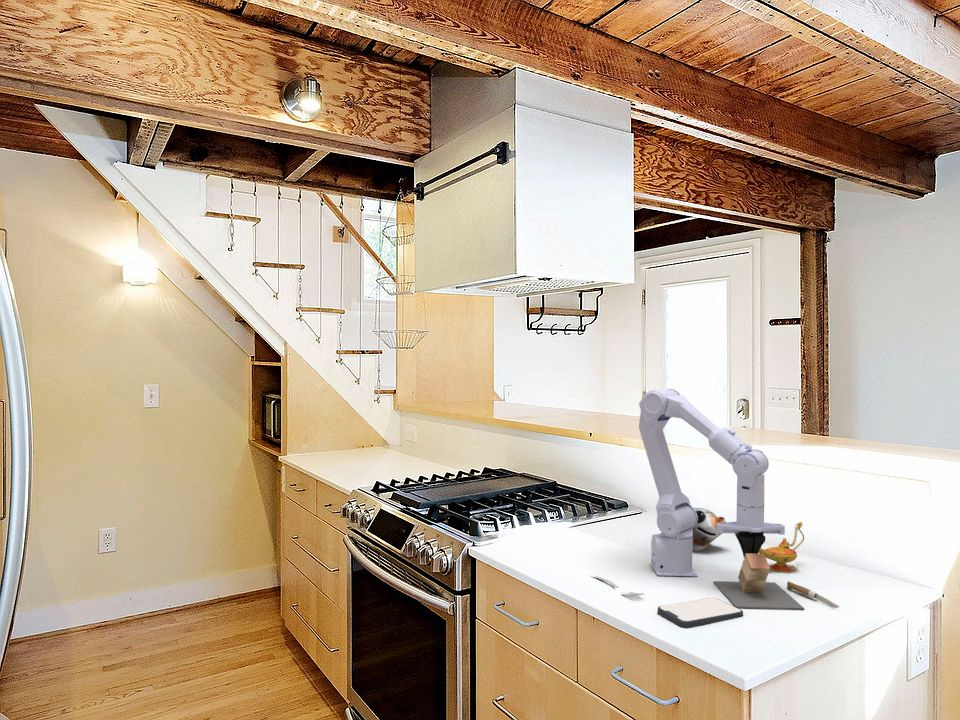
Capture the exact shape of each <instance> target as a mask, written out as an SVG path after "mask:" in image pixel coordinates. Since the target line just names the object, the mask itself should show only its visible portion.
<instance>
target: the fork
mask: <svg viewBox="0 0 960 720" xmlns="http://www.w3.org/2000/svg"><path fill="white" fill-rule="evenodd" d="M595 577H596V578H595V579H597V578H598V580H601V581H603V582H607V583H609V584H610V585H611V586H612V587H613V589H614V588H619V586H618V585H617V584H615V583H614V582H613V581H611V580H608V579H605V578H603V577H601V576H599V577H598V575H596V576H595ZM629 592H630V593H629ZM629 592H628V594H627V593H625V594H626V595H625V594H622V595H621V596H623V595H624V597H636V596H642V595H645V593H641V592H640V593H639V592H637V593H636V592H632V591H629Z"/></svg>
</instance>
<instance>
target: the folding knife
mask: <svg viewBox="0 0 960 720" xmlns="http://www.w3.org/2000/svg"><path fill="white" fill-rule="evenodd" d="M786 583H787V585H786V588H787V589H788V590H792V591H795V592H798V593H800V594H802V595H805V596H807V597H810V598H812V599H816V600H818V601H819V602H821V603H822V604H825V606H826V605H827V606H828V607H830V608H832V609H833V608H834V609H837V608H840V605H837V603H834V602H833V601H832V600H830V599H828V598H826V597H824V596H823V595H820V594H818V593H817V592H816V591H813V590H811V589H809V588H807V587H804V586H802V585H798V584H796V583H793V582H791V581H789V580H788V581H787V582H786Z"/></svg>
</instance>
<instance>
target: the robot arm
mask: <svg viewBox="0 0 960 720" xmlns="http://www.w3.org/2000/svg"><path fill="white" fill-rule="evenodd" d="M638 405H639V406H638V407H639V410H640V412H639V413H640V414H639V422H638V428H639V432H640V437H641V440H642V443H643V447H644V450H645V453H646V456H647V460H648V464H649V466H650V470H651V474H652V477H653V481H654V484H655V487H656V491H657V494H658V497H659V498H658V500H657V503H656V506H655V509H656V513H657V516H656V526H657V529H659V531H660V533H657V534H656V533H654V534H652V536H651V541H650V542H651V543H650V545H651V546H650V547H651V549H650V550H651V552H650V554H651V555H650V566H651V568H652V570H653V571H654V573H655V575H656V576H661V577H662V576H664V577H665V576H666V577H674V576H675V577H698V572H696V571H695V570H694V568H693V552H692V547H693V528H694V527H695V526H696V524H697V522H698V516H697V513H696V511H695V509H694V508H695V507H693V505H692V504H691V502H690V499H689V497H688V496H687V495H685V494H684V493H683V492H682V489H681V485H680V483H679V479H678V476H677V473H676V469H675V467H674V466H675V465H674V463H673V460H672V456H671V453H670V448H669V446H668V443H667V440H666V436H665V432H664V428H665V426H666V425H667V424H668V422H669V420H671V419H672V418H675V419H682V420H683V421H684V422H685V423H687V424H688V425H690V426H691V427H692V428H694V429H695V430H696V431H697V432H699V433H700V434H702V436H704V437H706V438H707V439H708V440H707V441H708V446H709V447H710V448H711V449H712V450H713V451H714V452H715V453H717V454H718V455H719V456H720V457H722V458H723V459H724V460H725V461H726V462H727V463H729V464H730V465H731V466H732V471H733V472H734V473H735V475H736V476H737V477H736V478H737V479H736V521H732V522H731V521H730V522H726V523H716V532H717V533H719V534H721V535H722V534H735V537H736V539H737V542H738V544H739V546H740V548H741V551H742V555H743V558H744V557H745V554H746V553H753V554H759V553H758V552H759V550H760V548H761V549H762V546H763V545H764V543H766V536H765V535H764V534H769V535H770V534H771V535H773V534H776V535H777V534H778V535H781V536H782V535H783V536H784V535H785V534H786V533H785V532H786V529H785V528H786V526H785V525H784V524H782V523H773V522H765V489H766V487H765V473H766V472H767V471H768V469H769V463H770V462H769V459H768V457H767V455H766V454H765V453H764V452H763V451H762V450H760V449H755V448H753V446H752V445H751V444H750V443H749V444H747V443H745V442H744V441H743V440H742V439H741V438H739V437H738V436H737V435H736V433H737V432H736V431H735V430H734V429H732V428H731V429H728V428H727V427H718V426H717V425H715V423H714V422H712V421H711V420H710V419H709V418H708V417H707V416H705V414H704V413H702V411H700V410H699V409H698V408H697V407H695V406H694V405H693V404H692V403H691V402H690V401H689V399H688V398H687V397H686V396H685V395H682V394H680V392H679V391H678V390H676V389H673V388H668V389H661V390H655V389H654V390H653V389H652V390H649V391H647V392H645V394H644V395H643V397H642V398H641V400H640V401H639V402H638Z"/></svg>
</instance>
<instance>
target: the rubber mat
mask: <svg viewBox="0 0 960 720" xmlns="http://www.w3.org/2000/svg"><path fill="white" fill-rule="evenodd" d="M712 583H713V584H714V586H715V587H718V588H717V589H718V590H719V591H720V592H721V593H722V594H723V596H725V598H726V599H727V600H728V601H729V602H730V603H731V605H732V606H734V607H736V608H738V609H741V610H742V609H743V610H745V609H747V610H780V611H781V610H787V611H789V610H791V611H805V607H804V606H802V605H801V603H799V602H798V601H797V600H796V599H794V598H793V596H791V595H790V594H789V593H788V592H786V591H785V590H784V589H783V588H782V587H781V586H780V585H779V584H778V583H776V582H771V581H770V582H769V581H767V582H765V585H764V587H763V590H762V592H743V590H742V587H741V584H740V581H725V580H723V581H722V580H721V581H720V580H718V581H717V580H716V581H715V580H713V581H712Z"/></svg>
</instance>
